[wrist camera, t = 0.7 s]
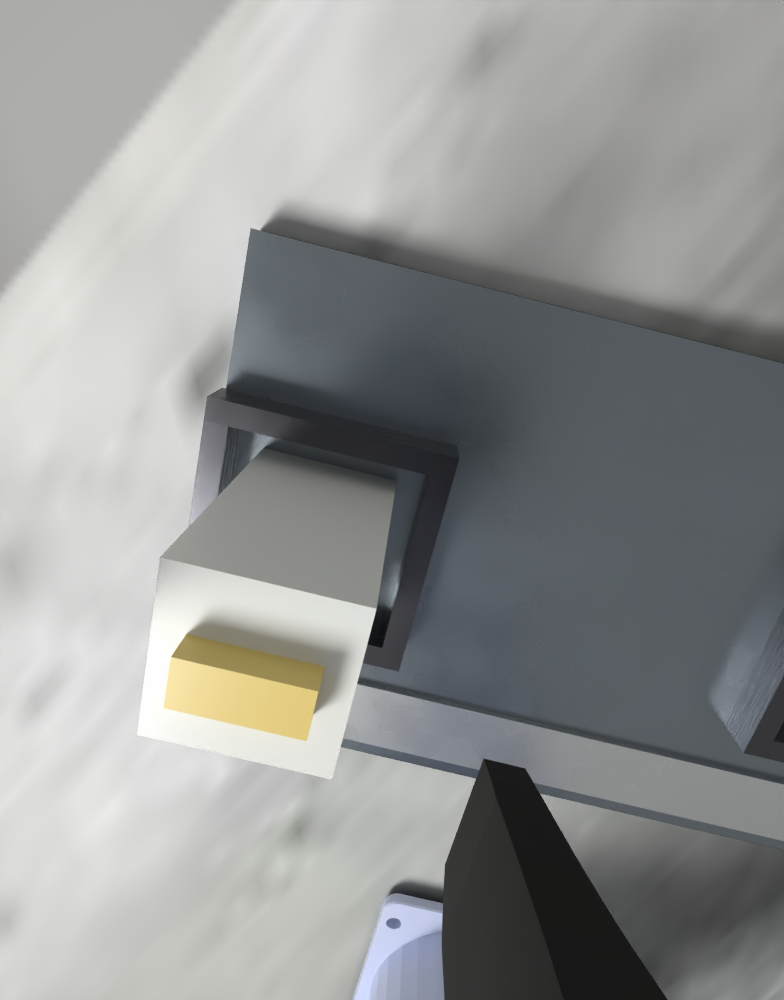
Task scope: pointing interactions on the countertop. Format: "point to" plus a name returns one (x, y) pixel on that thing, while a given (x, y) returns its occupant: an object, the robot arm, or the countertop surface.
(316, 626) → the white rectangular block
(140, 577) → the countertop surface
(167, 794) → the countertop surface
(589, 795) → the panel
